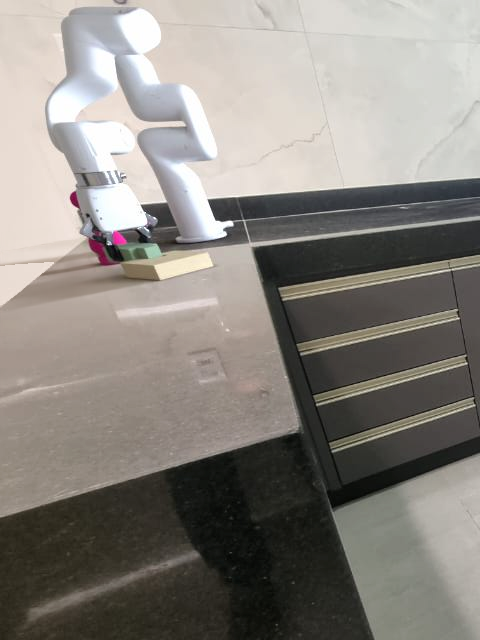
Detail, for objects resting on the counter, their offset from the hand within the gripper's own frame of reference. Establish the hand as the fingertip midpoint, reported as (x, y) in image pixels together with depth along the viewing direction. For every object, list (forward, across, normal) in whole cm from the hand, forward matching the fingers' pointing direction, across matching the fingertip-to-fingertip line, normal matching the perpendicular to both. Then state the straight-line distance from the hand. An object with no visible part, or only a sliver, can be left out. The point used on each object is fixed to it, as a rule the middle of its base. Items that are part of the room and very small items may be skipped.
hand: (134, 256), depth 129 cm
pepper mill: (+3, -4, -17) cm, 18 cm away
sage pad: (+1, 0, +1) cm, 2 cm away
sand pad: (+3, 0, +11) cm, 12 cm away
